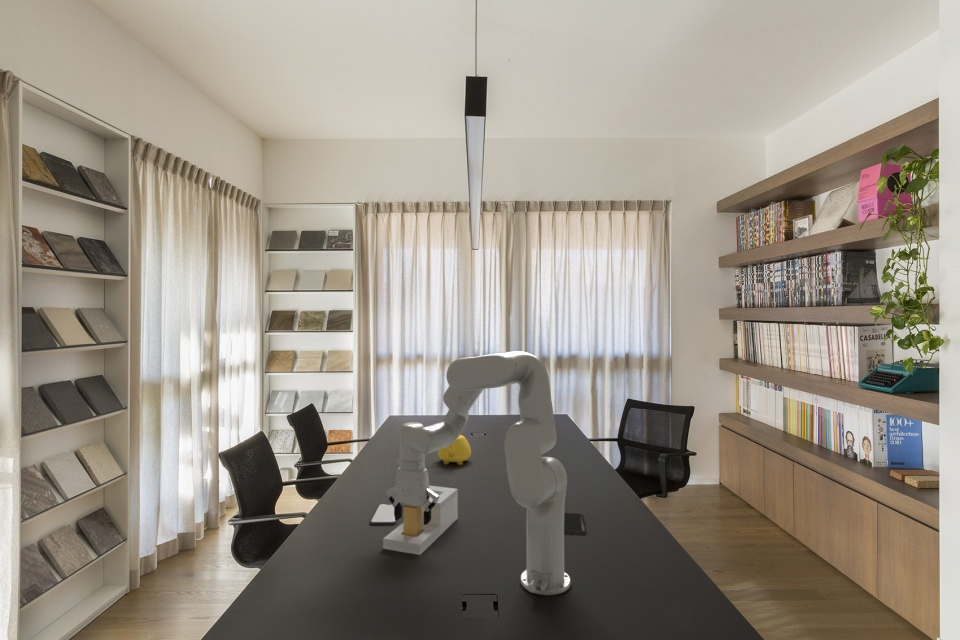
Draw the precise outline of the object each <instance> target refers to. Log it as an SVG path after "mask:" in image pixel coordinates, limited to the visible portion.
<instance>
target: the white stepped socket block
mask: <svg viewBox="0 0 960 640" xmlns="http://www.w3.org/2000/svg"><path fill="white" fill-rule="evenodd" d="M429 488H430V490H431V491H433V492H434V493H436V494H437V495H438V496H439V499H438V501H437V504H436V505H435V506H434V507H433V508H432V509H431V521H430V522H429V523H428V524H427V525H424V511H425V509H424V508H423V506H422V533H421V534H420V535H418V536H417V537H414V536H407V535H404V522H403V523H401V524H400V525H399V526H396V528H395V529H393V530H391V532H389V534H387V535H385V536H384V537H383V538H382V542H383V543H382V549H384V550H389V551H395V552H401V553H406V554H413V555H418V556H421V555H422V554H423V553H424V552H425V551H426V550H427V549H428V548H429V547H430V546H431V545H432V544H433V543H434V542H435V541H436V540H437V539H438V538H439V537H441V535H443V534H444V532H446V530H448V529H449V528H450V527H451V526H452V525H453V524H454V523H455V522H456V521H457V520H458V518H459V517H458V516H459V515H458V513H459V512H458V511H459V510H458V509H459V507H458V506H459V503H458V502H459V501H458V498H459V497H458V495H459V494H458V493H459V490H458V488H453V487H446V486H445V487H444V486H439V485H438V486H436V485H429ZM429 501H430V503H432V501H433V499H432V498H431V497H430V498H429ZM406 505H407V504H405V506H406Z"/></svg>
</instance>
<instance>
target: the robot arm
mask: <svg viewBox="0 0 960 640" xmlns="http://www.w3.org/2000/svg"><path fill="white" fill-rule="evenodd" d="M446 381H447V384H448V385H449V386H448V388H447V389H446V390H445V392H444V393H443V396H442V400H443V402H444V405H445V406H446V407H447V408H448V411H447V413H446V414H445V416H444V417H443V418H442V420H441V421H440V422H436V423H432V424H430V425H427V426H424V424H422V423H421V422H417V421H415V422H414V421H411V422H410V421H409V422H404V423H402V424H401V425H400V426H399V458H397V459H396V460H395V463H396V464H398V468H397V469H396V473H395V478H394V487H391V488H389V489H387V490H386V491H385V493H386V495H387V497H388V500H389V502H390V504H392V506H393V507H394V516H395V520H396V521H397V520H398V521H399V520H400V519H401V518H402V517H403V509H402V505H403V504H404V505H406V504H410V505H422V506H423V508H424V509H425V511H424V525H427V524H428V523H429V522H430V521H431V509H432V508H433V507H434V506H435V505H436V504H437V501H438V499H439V496H438V495H437V494H436V493H434V492H433V491H431V490H430V488H429V486H430V479H429V473H428V470H427V468H426V467H425V466H426V465H425V464H426V457H425V456H426V454H431V453H433V452H436V451H437V452H438V450H439V449H442V448H445V447H448V446H450V445H451V444H453V443H454V442H455V441H456V439H457V438H458V437H459V435H462V433H463V431H464V430H465V428H466V427H467V424H468V420H469V415H470V414H469V413H470V410H471V408H472V407H473V405H474V404H475V402H476V401H477V399H478V398H479V397H480V395H481V394H483V393H482V392H483V391H484V390H485V389H487V390H488V389H495V388H503V387H507V386H511V385H514V384H518V385H519V392H518V398H517V399H518V400H517V401H518V407H519V418H520V419H519V421H516V422H515V423H513V424H512V425H511V426H510V427H509V428H508V429H507V431H506V434H505V435H504V436H505V437H504V443H503V444H504V446H503V447H504V454H505V456H504V457H505V461H506V470H507V479H508V484H509V489H510V493H511V495H512V497H513V499H514V500H515V502H517V504H518V505H520V506H522V507H523V508H526V530H525V531H526V569H525V570H524V571H523V572H522V573H521V575H520V584H521V585H522V587H523V588H524V589H525V590H527V591H528V592H530V593H532V594H536V595H541V596H554V595H559V594H562V593H565V592H566V591H567V590H569V589H570V587H571V581H572V580H571V577H570V575H569V574H568V573H567V572H565V534H564V513H565V504H566V503H565V502H566V494H567V486H568V475H567V472H566V468H565V467H564V464H562V462H560V461H559V460H558V459H556V458H555V457H552V456H542V455H545V453H548V452H549V451H551V450H552V449H553V448H554V447H555V445H556V444H557V429H556V422H555V416H554V407H553V402H552V395H551V386H550V385H551V383H550V378H549V373H548V370H547V367H546V365H545V364H544V363H543V362H542V360H541V359H540V358H539V357H537V356H536V355H534V354H532V353H531V352H527V351H521V350H515V351H514V350H513V351H506V352H497V353H490V354H485V355H479V356H470V357H469V356H468V357H461V358H457V359H455V360H453V361H452V362H451V363H450V365H448V367H447V370H446ZM430 497H431V498H432V499H433V501H432V503H430V501H429V498H430ZM401 504H402V505H401ZM398 521H397V522H398Z"/></svg>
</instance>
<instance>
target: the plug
mask: <svg viewBox="0 0 960 640" xmlns="http://www.w3.org/2000/svg"><path fill="white" fill-rule="evenodd" d="M403 523H404V535H407V536H414V537H417V536H418V535H420V534H421V533H422V505H410V504H407V505H406V504H405V506H404V505H403Z"/></svg>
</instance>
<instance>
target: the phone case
mask: <svg viewBox="0 0 960 640" xmlns="http://www.w3.org/2000/svg"><path fill="white" fill-rule="evenodd" d="M400 504H401V505H402V510H404V505H403V503H400ZM398 521H399V519H398V520H397V521H396V520H395V516H394V507H393V506H392V503H381V504H378V506H377V508H376V510H375V512H374V514H373V515H372V517H371V519H370V521H369V524H370V525H371V526H395V525H397V523H398Z"/></svg>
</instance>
